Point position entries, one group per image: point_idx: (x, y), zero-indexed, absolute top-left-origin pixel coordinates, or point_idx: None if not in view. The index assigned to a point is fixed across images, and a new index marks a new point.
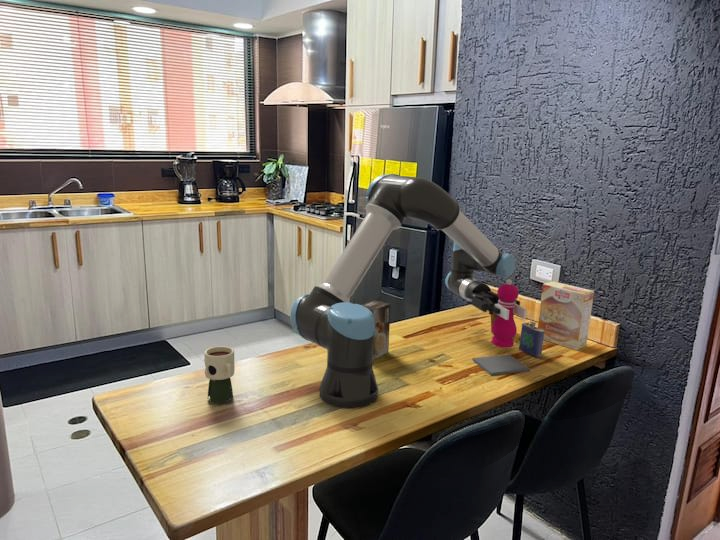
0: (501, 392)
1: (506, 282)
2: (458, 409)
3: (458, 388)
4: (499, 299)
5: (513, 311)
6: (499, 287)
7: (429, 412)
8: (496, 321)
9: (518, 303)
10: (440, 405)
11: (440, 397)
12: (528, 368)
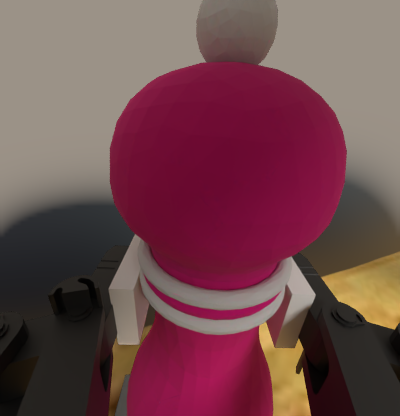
0: None
1: (273, 34)
2: (341, 273)
3: None
4: (275, 275)
5: (146, 304)
6: (338, 123)
7: (386, 275)
8: (263, 353)
9: (23, 322)
10: (374, 287)
11: (382, 308)
12: (129, 376)
